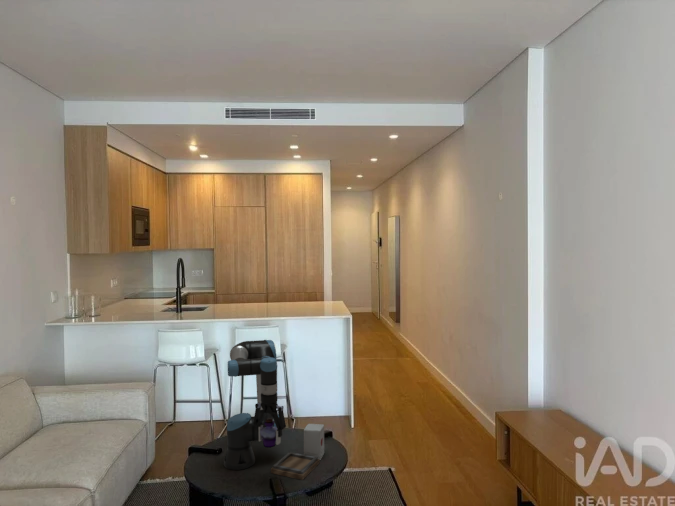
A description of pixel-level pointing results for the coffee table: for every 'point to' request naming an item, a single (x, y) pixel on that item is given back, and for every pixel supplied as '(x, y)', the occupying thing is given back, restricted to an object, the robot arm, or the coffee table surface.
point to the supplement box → (314, 440)
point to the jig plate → (295, 465)
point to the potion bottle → (268, 433)
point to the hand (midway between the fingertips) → (269, 441)
